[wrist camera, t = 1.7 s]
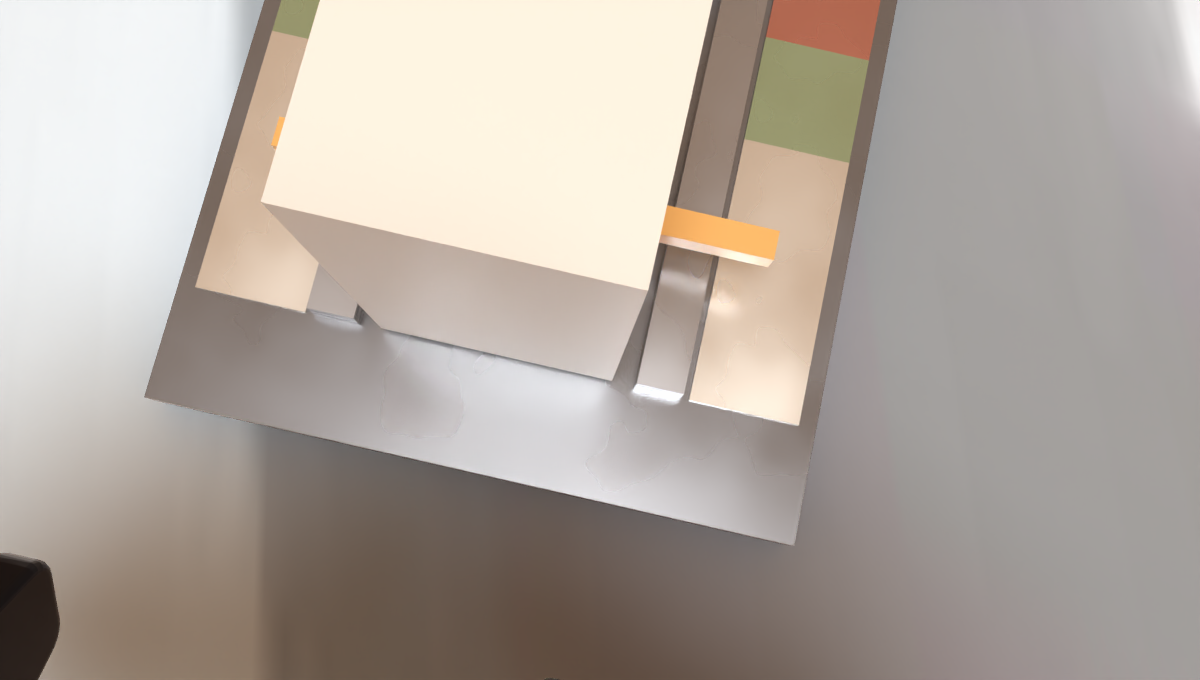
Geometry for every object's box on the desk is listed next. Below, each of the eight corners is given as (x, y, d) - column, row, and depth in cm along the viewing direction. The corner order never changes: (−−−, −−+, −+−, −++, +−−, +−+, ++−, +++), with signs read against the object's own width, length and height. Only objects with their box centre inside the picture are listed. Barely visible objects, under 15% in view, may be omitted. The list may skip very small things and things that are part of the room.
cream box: (727, 407, 22) (841, 334, 13) (266, 301, 22) (66, 157, 13) (781, 143, 23) (921, -89, 14) (340, 43, 23) (202, -255, 14)
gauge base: (783, 544, 23) (863, 555, 17) (161, 402, 23) (23, 362, 17) (920, -174, 26) (1028, -378, 20) (372, -301, 26) (317, -542, 20)
